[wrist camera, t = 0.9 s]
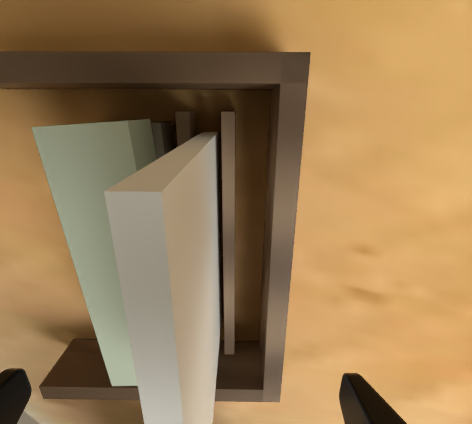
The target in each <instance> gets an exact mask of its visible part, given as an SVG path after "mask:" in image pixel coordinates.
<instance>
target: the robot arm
mask: <svg viewBox="0 0 472 424" xmlns="http://www.w3.org/2000/svg"><path fill="white" fill-rule="evenodd" d="M30 396H31V385H30V383H29V380H28V377H27V374H26V372H25V370H24V369H15V368H11V369H6V370H4V371H3V372H1V373H0V424H17V422H18V420H19V418H20V416H21V414H22V413H23V411H24V409H25V407H26V405H27V403H28V401H29V398H30ZM339 400H340V405H341V409H342V413H343V418H344V422H345V424H407V423H406V422H405V421H404V420H403V419H402V418H401V417H400V416H399V415H398V414H397V413H396V412H395V411H394V410H393V409H392V407H391V406H390V405H389V404H388V403H387V402H386V401H385V400H384V399H383V398H382V397H381V396H380V395H379V394H378V393H377V392H376V391H375V390H374V389H373V388H372V387H371V386H370V384H369V383H368V382H367V381H366V380H365V379H364V378H363V377H362V376H361V375H359V374H357V373H345V374H344V375H343V377H342V382H341V387H340V392H339Z"/></svg>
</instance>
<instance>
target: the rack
mask: <svg viewBox="0 0 472 424" xmlns="http://www.w3.org/2000/svg"><path fill="white" fill-rule="evenodd" d="M309 64H310V52H0V88H2V89H164V90H270V110H269V133H268V155H267V178H266V200H265V223H264V245H263V268H262V290H261V313H260V336H259V341H235V133H236V112H227V111H223V112H221V138H222V208H223V278H224V341H220V342H219V353H218V365H217V377H216V389H215V401H237V402H280V393H281V382H282V371H283V359H284V348H285V337H286V325H287V314H288V303H289V291H290V280H291V268H292V257H293V246H294V234H295V223H296V212H297V200H298V189H299V177H300V166H301V155H302V143H303V132H304V121H305V109H306V98H307V86H308V75H309ZM175 117H176V131H177V145H178V147H179V146H180V145H182V144H184V143H185V142H187V141H189V140H190V139H192V138H194V137H195V136H197V126H196V111H176V112H175ZM39 388H40V391H41V393H42V396H43V399H101V400H140V396H139V390H138V386H112V385H111V382H110V378H109V375H108V372H107V369H106V366H105V362H104V359H103V356H102V353H101V350H100V346H99V343H98V340H97V339H73V341H72V342H71V343H70V345H69V346H68V347H67V349H66V350H65V352H64V353H63V354H62V356H61V357H60V359H59V360H58V361H57V363H56V364H55V365H54V367H53V368H52V370H51V371H50V372H49V374H48V375H47V376H46V378H45V379H44V381H43V382H42V383H41V385H40V386H39Z"/></svg>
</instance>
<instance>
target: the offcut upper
mask: <svg viewBox="0 0 472 424" xmlns="http://www.w3.org/2000/svg"><path fill="white" fill-rule="evenodd" d="M31 128H32V131H33V135H34V138H35V141H36V144H37V147H38V151H39V154H40V157H41V160H42V164H43V167H44V170H45V173H46V176H47V180H48V183H49V186H50V189H51V192H52V196H53V199H54V202H55V205H56V208H57V212H58V215H59V218H60V221H61V224H62V228H63V231H64V234H65V237H66V241H67V244H68V247H69V250H70V253H71V257H72V260H73V263H74V266H75V269H76V273H77V276H78V279H79V282H80V285H81V289H82V292H83V295H84V298H85V301H86V305H87V308H88V311H89V314H90V317H91V321H92V324H93V327H94V330H95V334H96V337H97V340H98V343H99V346H100V350H101V353H102V356H103V359H104V362H105V366H106V369H107V372H108V375H109V378H110V382H111V385H112V386H138V384H137V379H136V373H135V367H134V361H133V356H132V350H131V344H130V338H129V333H128V327H127V321H126V315H125V309H124V304H123V298H122V292H121V286H120V281H119V275H118V269H117V263H116V257H115V252H114V246H113V240H112V234H111V229H110V223H109V217H108V211H107V206H106V200H105V194H104V191H106V190H107V189H109V188H111V187H112V186H114V185H116V184H117V183H119V182H121V181H122V180H124V179H126V178H127V177H129V176H131V175H132V174H134V173H136V172H137V171H139V170H141V169H142V168H144V167H145V166H147V165H149V164H150V163H152V162H154V161H155V160H157V159H156V153H155V147H154V141H153V134H152V128H151V122H150V119H140V120H125V121H110V122H95V123H81V124H67V125H54V126H41V127H31Z"/></svg>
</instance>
